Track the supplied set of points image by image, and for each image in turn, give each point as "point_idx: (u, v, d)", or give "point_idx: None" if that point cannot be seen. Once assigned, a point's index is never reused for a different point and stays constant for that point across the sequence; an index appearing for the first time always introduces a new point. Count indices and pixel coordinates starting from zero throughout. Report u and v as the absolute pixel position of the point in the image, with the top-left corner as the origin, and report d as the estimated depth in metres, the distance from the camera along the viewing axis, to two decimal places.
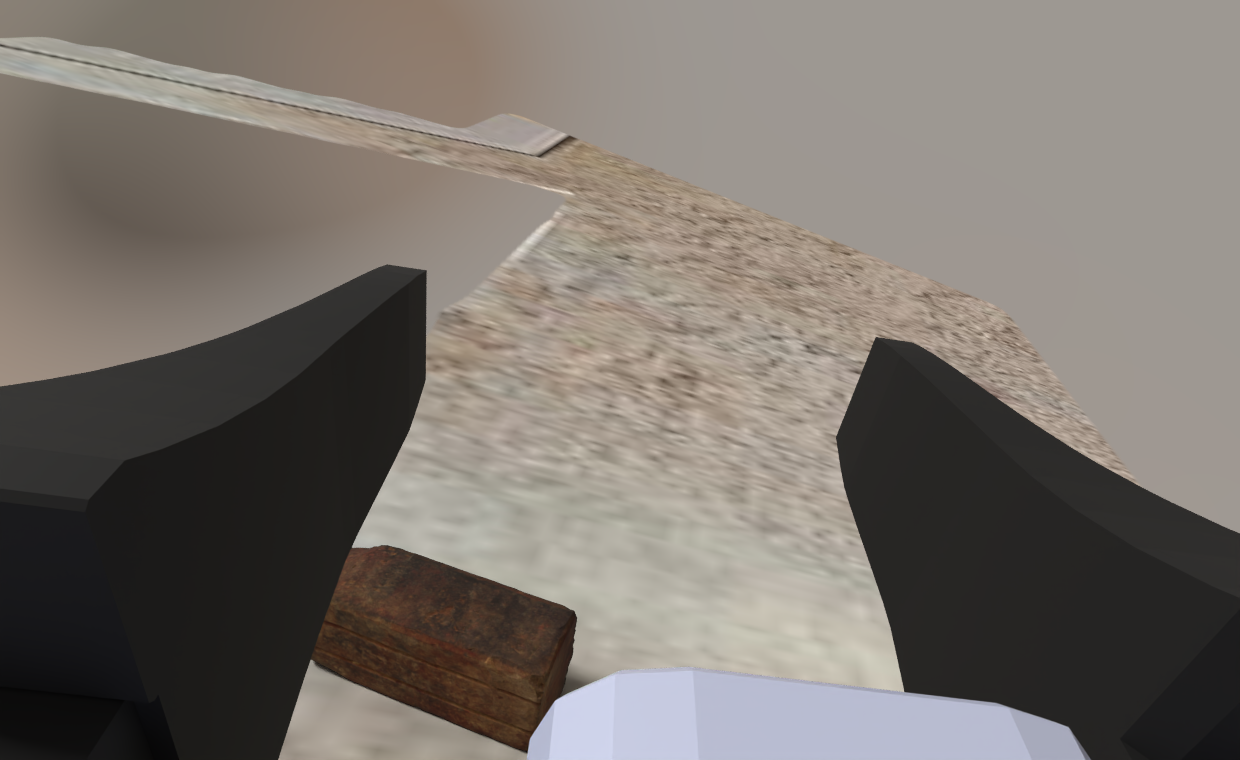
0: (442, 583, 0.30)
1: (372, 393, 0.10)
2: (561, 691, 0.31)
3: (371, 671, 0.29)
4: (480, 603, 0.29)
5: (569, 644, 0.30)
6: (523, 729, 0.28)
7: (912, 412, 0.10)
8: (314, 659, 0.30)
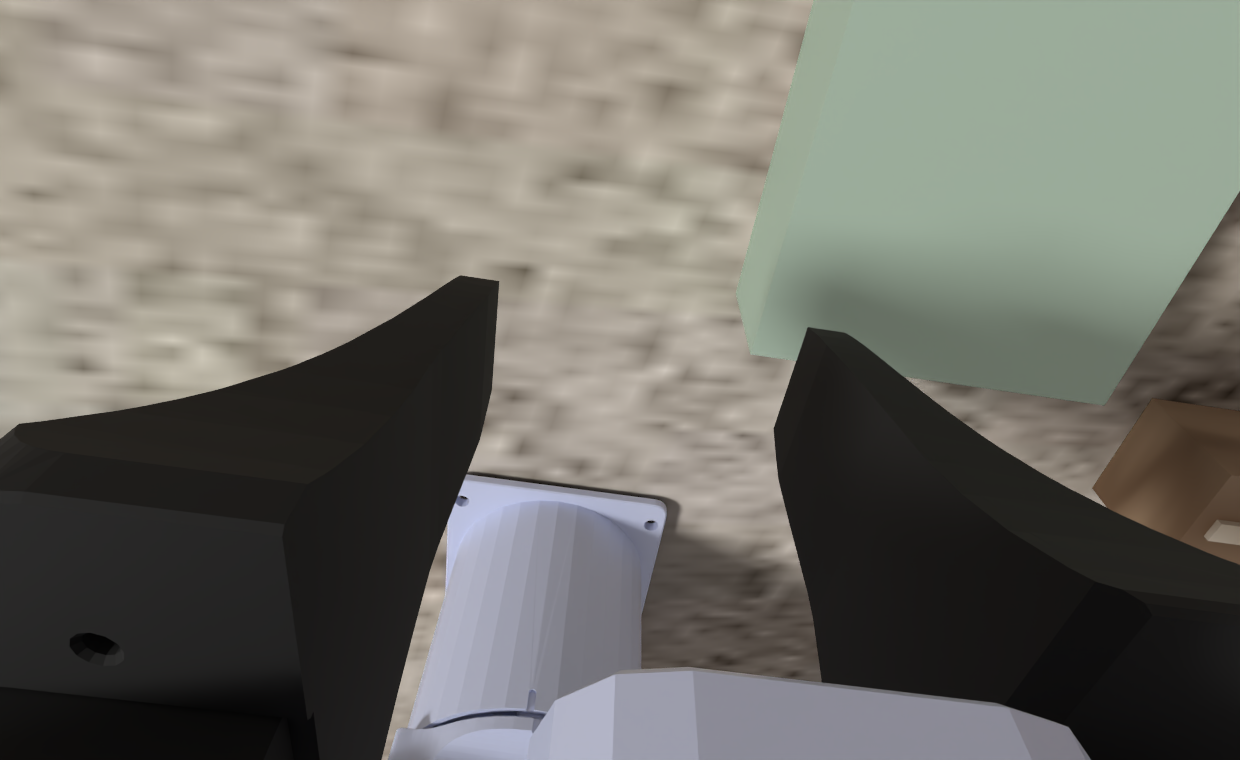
0: None
1: (458, 406, 0.10)
2: None
3: None
4: None
5: None
6: None
7: (835, 401, 0.10)
8: None
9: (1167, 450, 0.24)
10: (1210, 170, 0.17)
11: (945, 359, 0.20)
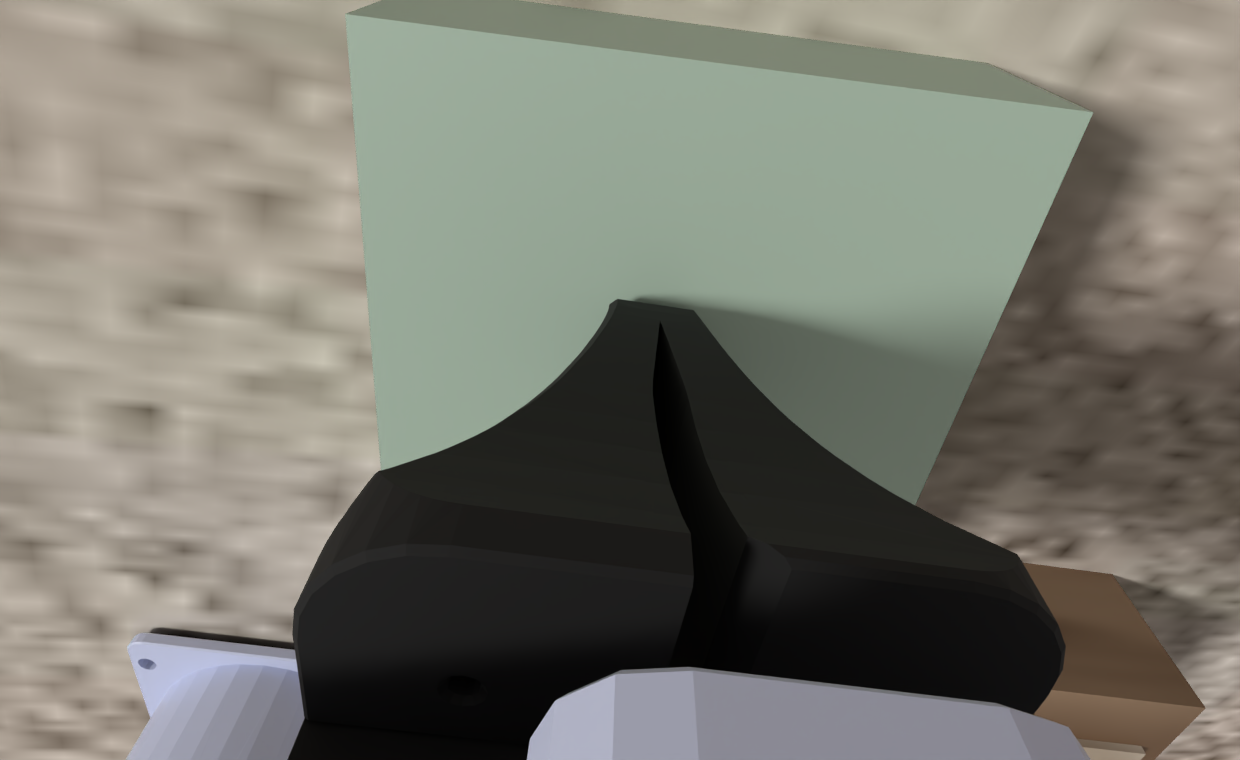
0: None
1: None
2: None
3: None
4: None
5: None
6: None
7: (661, 376, 0.10)
8: None
9: None
10: (934, 331, 0.12)
11: None
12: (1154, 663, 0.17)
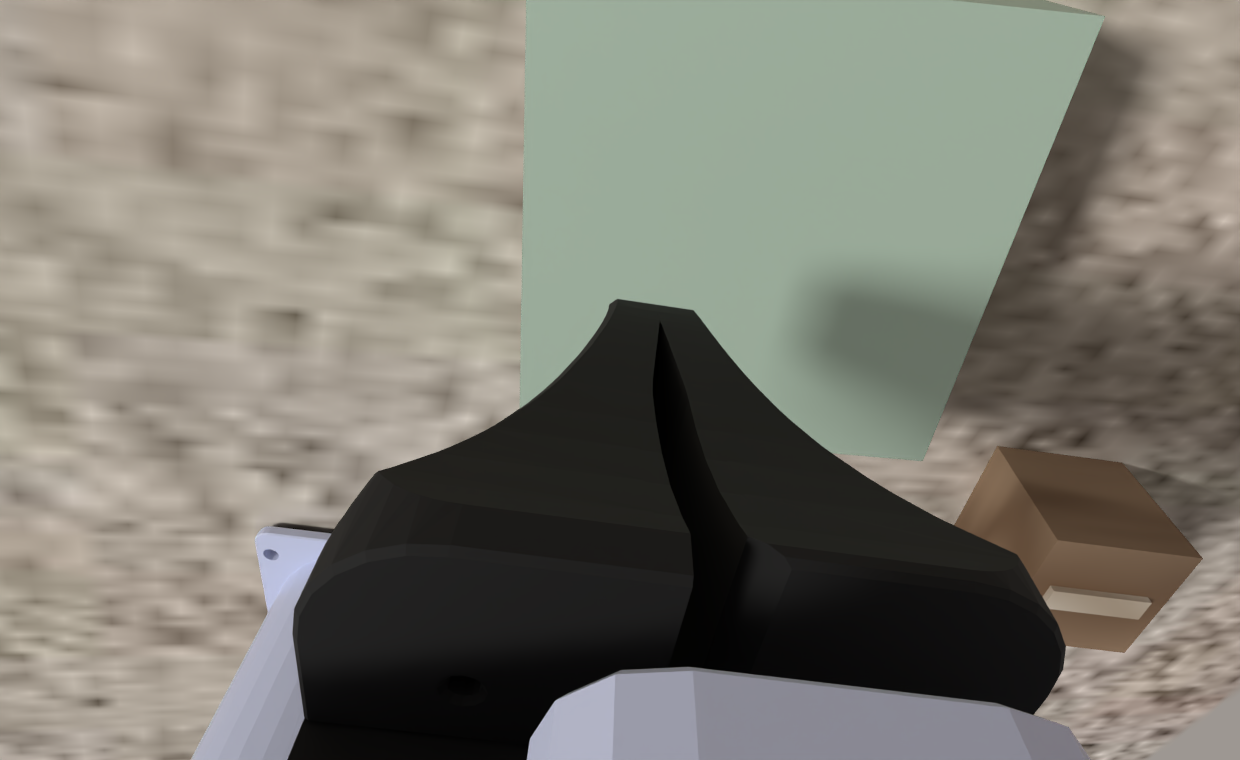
0: None
1: None
2: None
3: None
4: None
5: None
6: None
7: (661, 376, 0.10)
8: None
9: (1006, 505, 0.22)
10: (979, 207, 0.15)
11: None
12: (1158, 526, 0.20)
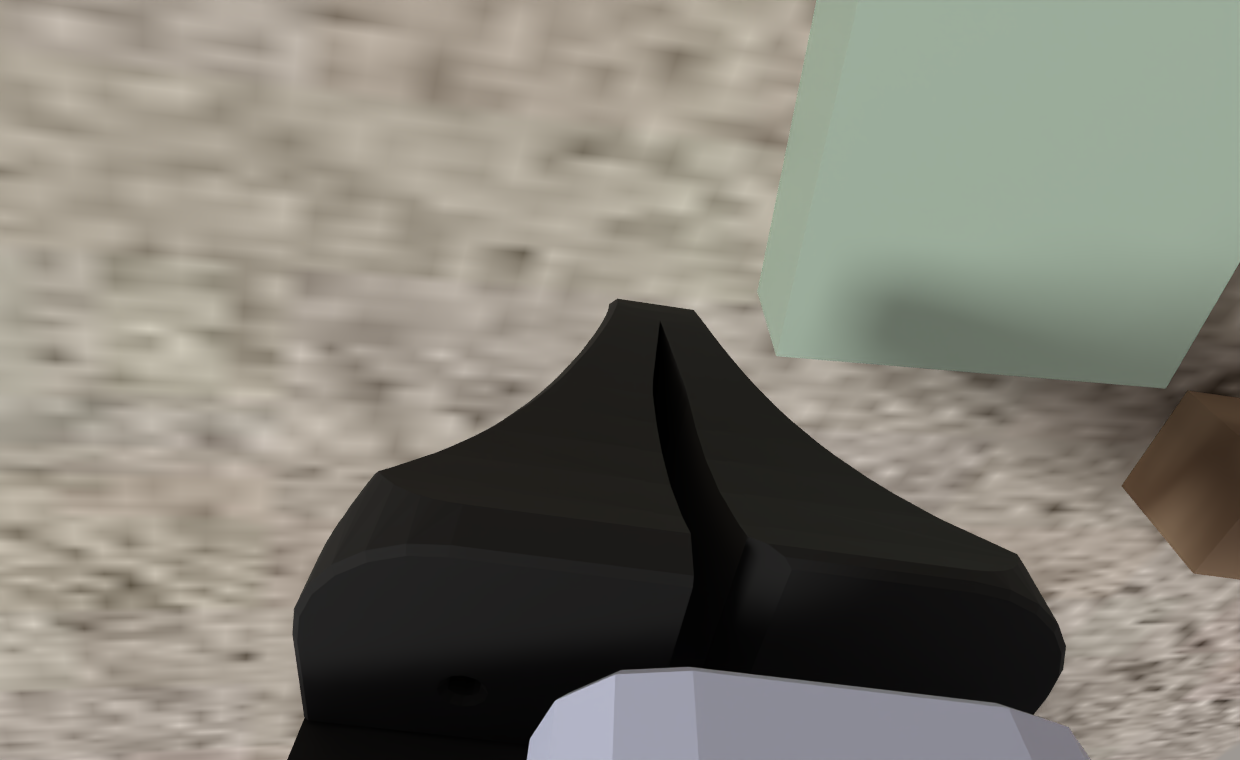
0: None
1: None
2: None
3: None
4: None
5: None
6: None
7: (660, 376, 0.10)
8: None
9: (1204, 445, 0.22)
10: None
11: (987, 349, 0.18)
12: None
